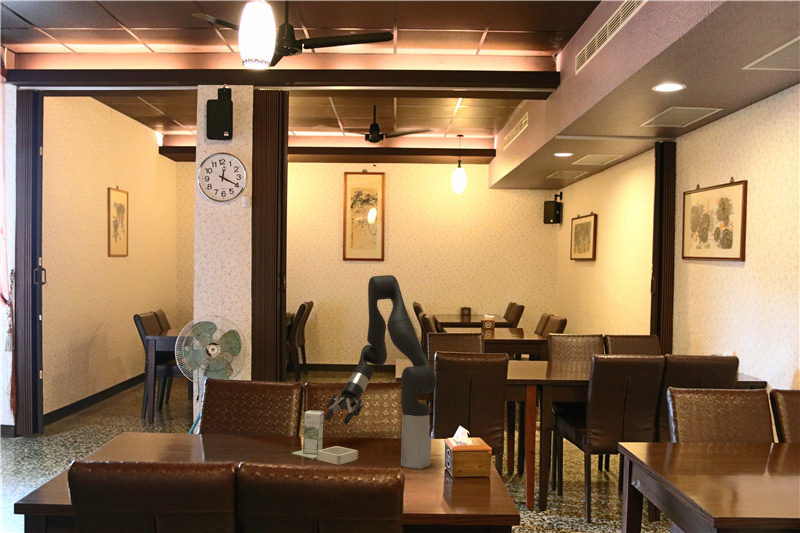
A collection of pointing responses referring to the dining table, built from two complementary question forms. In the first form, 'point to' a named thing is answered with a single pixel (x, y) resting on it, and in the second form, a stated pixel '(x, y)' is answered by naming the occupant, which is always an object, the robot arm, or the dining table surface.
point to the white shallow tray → (332, 455)
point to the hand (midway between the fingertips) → (335, 421)
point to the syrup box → (313, 431)
